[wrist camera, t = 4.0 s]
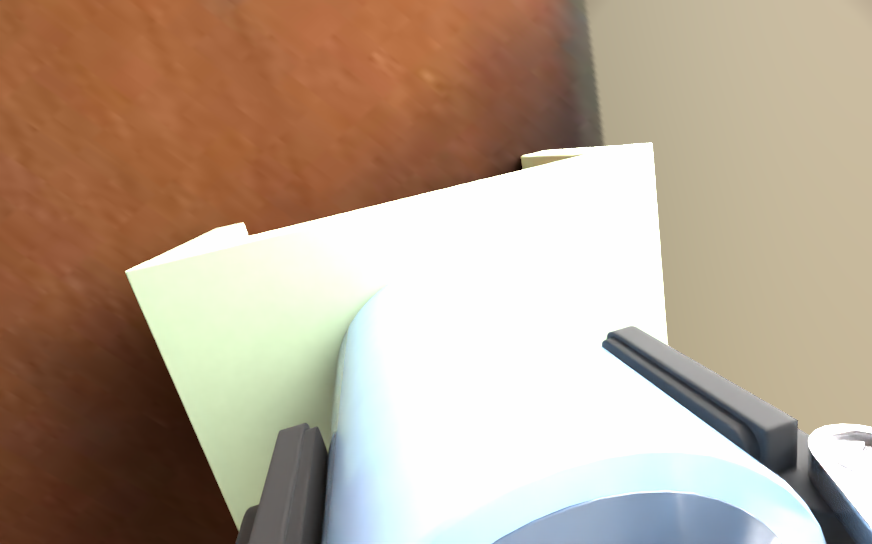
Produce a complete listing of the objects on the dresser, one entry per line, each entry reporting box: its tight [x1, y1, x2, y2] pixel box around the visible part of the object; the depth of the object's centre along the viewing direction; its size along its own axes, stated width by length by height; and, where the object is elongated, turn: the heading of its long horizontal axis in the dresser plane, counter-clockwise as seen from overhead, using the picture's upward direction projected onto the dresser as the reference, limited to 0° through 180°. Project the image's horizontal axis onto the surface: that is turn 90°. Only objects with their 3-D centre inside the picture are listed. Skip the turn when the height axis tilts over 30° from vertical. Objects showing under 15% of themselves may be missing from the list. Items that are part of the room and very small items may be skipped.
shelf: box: [125, 143, 668, 531], centre depth 15 cm, size 12×14×9 cm
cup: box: [321, 265, 827, 544], centre depth 9 cm, size 6×6×8 cm
